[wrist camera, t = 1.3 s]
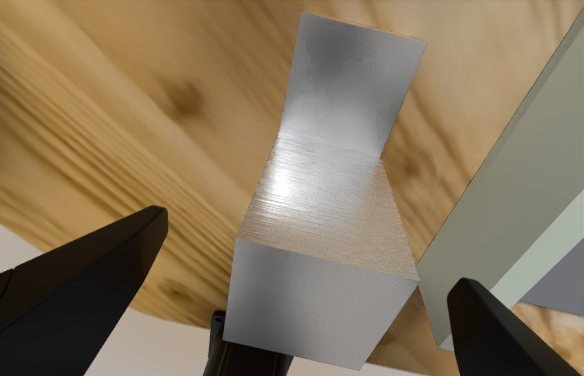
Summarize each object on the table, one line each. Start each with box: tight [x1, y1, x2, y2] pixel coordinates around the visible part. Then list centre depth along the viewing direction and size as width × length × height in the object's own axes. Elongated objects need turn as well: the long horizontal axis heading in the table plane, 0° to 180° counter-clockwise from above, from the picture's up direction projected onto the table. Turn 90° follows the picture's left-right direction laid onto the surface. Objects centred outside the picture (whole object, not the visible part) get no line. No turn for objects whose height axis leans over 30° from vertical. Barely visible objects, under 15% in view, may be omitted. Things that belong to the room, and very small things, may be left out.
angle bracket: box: [223, 11, 427, 371], centre depth 9 cm, size 8×4×8 cm, turn 168°
